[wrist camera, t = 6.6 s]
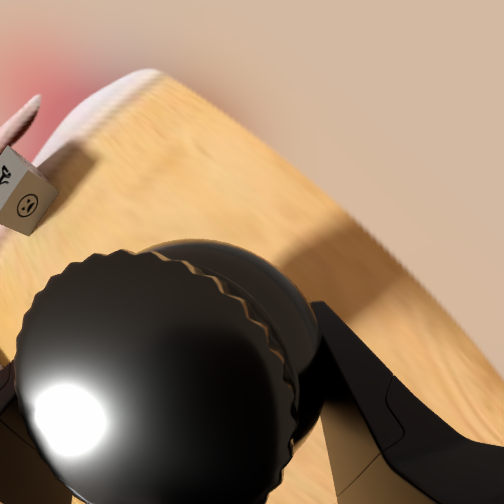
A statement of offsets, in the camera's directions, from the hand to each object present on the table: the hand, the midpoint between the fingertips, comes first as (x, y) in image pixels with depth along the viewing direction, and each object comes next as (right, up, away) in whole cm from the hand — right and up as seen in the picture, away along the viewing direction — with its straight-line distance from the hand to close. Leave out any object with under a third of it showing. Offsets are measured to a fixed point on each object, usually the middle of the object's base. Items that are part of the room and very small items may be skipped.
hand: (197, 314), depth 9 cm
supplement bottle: (+1, -3, +7) cm, 7 cm away
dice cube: (-19, +7, +15) cm, 25 cm away
